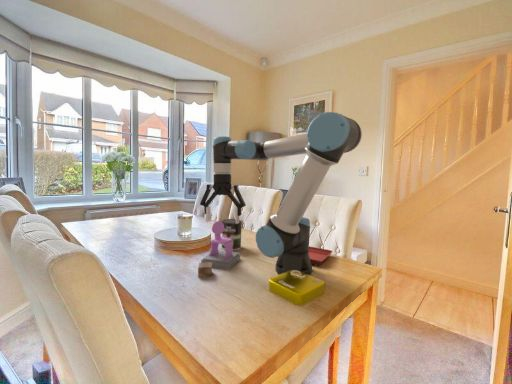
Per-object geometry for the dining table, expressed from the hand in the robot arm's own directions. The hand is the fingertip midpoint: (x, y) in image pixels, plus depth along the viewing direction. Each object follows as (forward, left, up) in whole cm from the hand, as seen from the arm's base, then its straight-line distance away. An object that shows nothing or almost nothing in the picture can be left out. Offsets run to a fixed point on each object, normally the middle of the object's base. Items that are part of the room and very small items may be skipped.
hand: (222, 222), depth 117 cm
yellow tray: (-35, +16, -19) cm, 43 cm away
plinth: (0, 0, -18) cm, 18 cm away
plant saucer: (-37, -19, -19) cm, 45 cm away
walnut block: (+1, +14, -18) cm, 23 cm away
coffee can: (+3, -21, -18) cm, 28 cm away
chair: (+1, 0, -15) cm, 15 cm away
